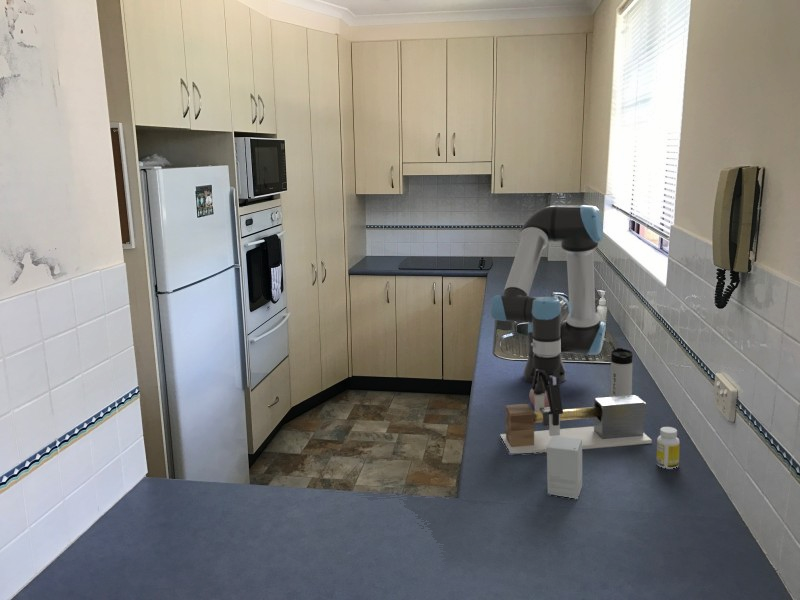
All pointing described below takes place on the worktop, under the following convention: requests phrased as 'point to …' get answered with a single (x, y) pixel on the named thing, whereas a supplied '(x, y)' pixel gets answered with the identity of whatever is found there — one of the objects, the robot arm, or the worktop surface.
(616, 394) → the travel mug
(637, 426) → the metal sleeve
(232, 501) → the worktop surface
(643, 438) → the base board
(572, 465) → the supplement box
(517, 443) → the walnut socket
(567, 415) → the brass rod
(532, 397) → the decorative fruit
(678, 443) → the supplement bottle
